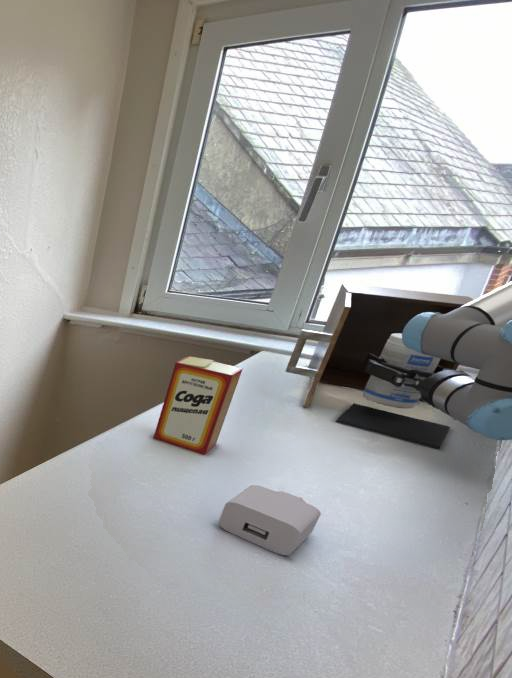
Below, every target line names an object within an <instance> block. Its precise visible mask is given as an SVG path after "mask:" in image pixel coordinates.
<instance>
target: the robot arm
mask: <svg viewBox="0 0 512 678" xmlns="http://www.w3.org/2000/svg"><path fill="white" fill-rule="evenodd" d="M402 342H403V344H404V345H405V346H406V347H407V348H409V349H412V350H414V351H417V352H420V353H422V354H424V355H429V356H433V357H437V358H440V359H444V360H448V361H451V362H455V363H459V365H462V366H465V367H468V368H469V367H470V368H472V369H476V370H479V371H478V373H477V375H476V376H472V375H469V374H468V373H467V372H466V371H464V370H461V369H459V370H458V369H457V370H452V369H449V368H447V369H443V368H444V367H442V366H440V365H437V367H436V369H435V371H434V372H433V373H432V372H424V371H421V370H417V369H414V370H408V369H405V368H401V367H398V366H395V365H391V364H388V363H386V362H387V361H385V360H384V358H379V357H378V356H376V355H374V354H371V353H368V355H367V357H366V359H365V361H364V364H363V365H365V366H366V369H365V373H368V374H370V375H373V376H375V377H378V378H380V379H383V380H385V381H387V382H390V383H391V384H393V385H395V386H397V387H401V386H402V384H404V385H406V386H409V387H412V388H415V389H416V390H417V391H420V394H421V397H422V399H423V400H424V401H425V404H427V405H429V406H431V407H432V408H435V409H437V410H439V411H440V412H442V413H443V414H446V415H447V416H448V417H450V420H452V421H456V422H457V421H458V422H459V423H460V424H462V425H464V426H466V427H467V428H468V429H470V431H472V432H474V433H477V434H479V435H481V436H483V437H486V438H489V439H492V440H495V441H512V281H509V282H508V283H505V284H504V285H502V286H499V287H497V288H495V289H493V290H491V291H489V292H487V293H485V294H483V295H481V296H479V297H476V298H475V299H474V300H473V301H471V302H469V303H467V304H465V305H463V306H461V307H459V308H458V309H455V310H453V311H451V312H449V313H447V314H441V313H439V312H436V313H433V312H426V313H421V314H419V315H417V316H415V317H414V318H412V319H411V320H410V321H409V322H408V323H407V325H406V326H405V328H404V330H403V332H402ZM416 374H419V375H417V376H416ZM424 401H423V402H424Z"/></svg>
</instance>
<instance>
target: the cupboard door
mask: <svg viewBox="0 0 512 678" xmlns="http://www.w3.org/2000/svg"><path fill="white" fill-rule="evenodd" d="M350 308H351V293H346V295H345V297H344V299H343V302H342V304H341V307H340V309H339V312H338V314H337V316H336V319H335V321H334V324H333V326H332V328H331V331H330V333H322V332H323V331H317V330H316V331H315V330H309V329H301V330H300V331H299V336H298V337H297V340H296V343H295V345H294V347H293V349H292V350H293V351H292V353H291V356H290V358H289V360H288V363H287V366H286V369H285V372H286V373H289V374H293V375H299V376H305V377H310V379H309V382H308V386H307V390H306V394H305V398H304V401H303V405H302V406H303V407H305V408H309V406H310V404H311V403H312V400H313V397H314V395H315V393H316V390H317V388H318V386H319V384H320V383H319V381H320V379H321V376H322V374H323V372H324V369H325V367H326V364H327V362H328V360H329V357H330V355H331V353H332V350H333V348H334V346H335V343H336V341H337V339H338V336H339V334H340V331H341V329H342V327H343V324H344V322H345V320H346V317H347V315H348V313H349V310H350ZM308 340H313V341H325V342H326V343H325V345H324V348H323V350H322V352H321V355H320V357H319V360H318V362H317V364H316V367H315V369H311V368H309V367H306V366H299V365H298V362H299V360H300V357H301V355H302V353H303V350H304V347H305V344H306V343H307V341H308Z"/></svg>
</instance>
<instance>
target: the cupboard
mask: <svg viewBox="0 0 512 678" xmlns="http://www.w3.org/2000/svg"><path fill="white" fill-rule="evenodd" d="M346 293H351V308H350V310H349V313H348V315H347V317H346V320H345V322H344V324H343V327H342V329H341V331H340V334H339V336H338V339H337V341H336V343H335V346H334V348H333V350H332V353H331V355H330V357H329V360H328V362H327V364H326V367H325V369H324V372H323V374H322V376H321V379H320V381H319V383H318V384H322V385H323V384H324V385H329V386H335V387H341V388H346V389H351V390H358V391H362V392H363V391H364V389H365V387H366V385H367V383H368V380H369V378H370V376H371V375H370V374H368V373H365V369H366V366H365V365H363V364H364V361H365V359H366V357H367V355H368V353H371V354H374V355H376V356H378V357H380V355H381V353H382V351H383V348H384V346H385V344H386V342H387V340H388V339H389V338H390V336H391V334H395V333H400V334H402V332H403V330H404V328H405V326H406V325H407V323H408V322H409V321H410V320H411V319H412V318H414V317H415V316H417V315H419V314H421V313H426V312H433V313H436V312H439V313H441V314H447V313H449V312H451V311H453V310H455V309H458V308H459V307H461V306H463V305H465V304H467V303H469V302H471V301H473V300H475V299H474V298H472V297H470V296H467V295H458V294H457V295H456V294H449V293H439V292H438V293H437V292H428V291H417V290H407V289H401V288H400V289H399V288H389V287H381V286H371V285H370V286H369V285H360V284H351V283H341V285H340V288H339V290H338V293H337V294H336V297H335V300H334V302H333V305H332V307H331V309H330V313H329V314H328V317H327V320H326V322H325V325H324V327H323V329H322V331H321V332H322V333H330V331H331V328H332V326H333V324H334V321H335V319H336V316H337V314H338V312H339V309H340V307H341V304H342V302H343V299H344V297H345V295H346ZM317 341H318V342H317V344H316V347H315V349H314V351H313V354H312V356H311V359H310V361H309V364H308V368H311V369H315V367H316V364H317V362H318V360H319V357H320V355H321V352H322V350H323V348H324V345H325V343H326V342H325V341H319V340H317ZM438 365H440V366H442V367H444V368H443V369H447V368H449V369H452V370H458V368H459V366H460V364H459V363H455V362H451V361H448V360H444V359H440V361H439V363H438ZM418 402H425V401H424V400H423V399H422V397H420V399H419V401H418ZM425 403H426V402H425Z"/></svg>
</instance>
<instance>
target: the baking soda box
mask: <svg viewBox="0 0 512 678" xmlns="http://www.w3.org/2000/svg"><path fill="white" fill-rule="evenodd" d="M243 369H244V368H243V367H240V366H239V367H238V366H235V365H230V364H226V363H221V362H218V361H215V360H214V359H207V358H202V357H197V356H190V355H188V356H184V357H183V358H180V359H179V360H178V361H176V362H175V364H174V367H173V369H172V374H171V377H170V379H169V383H168V386H167V387H168V388H167V390H166V393H165V397H164V401H163V404H162V407H161V410H160V414H159V417H158V421H157V424H156V428H155V431H154V434H153V437H152V438H153V439H154V440H158V441H161V442H164V443H167V444H169V445H173V446H176V447H179V448H183V449H186V450H187V451H188V450H189V451H191V452H195V453H197V454H200V455H204V456H205V455H207V454H208V453H209V452H210V451H211V450H212V449H213V448H214V447H215V446H217V442H218V440H219V438H220V437H219V436H220V434H221V430H222V428H223V425H224V422H225V420H226V416H227V414H228V411H229V408H230V406H231V403H232V400H233V397H234V394H235V391H236V390H237V386H238V384H239V380H240V378H241V374H242V372H243Z"/></svg>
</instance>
